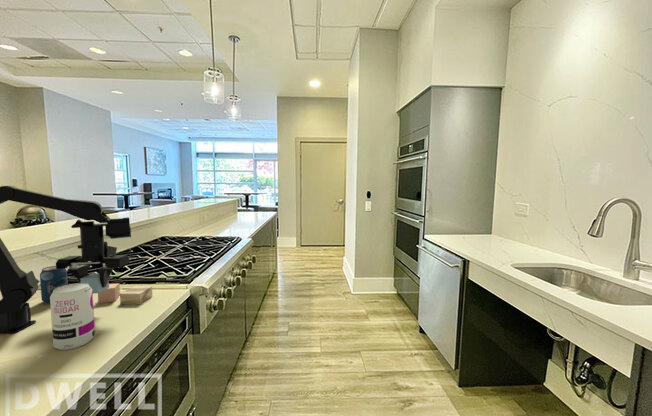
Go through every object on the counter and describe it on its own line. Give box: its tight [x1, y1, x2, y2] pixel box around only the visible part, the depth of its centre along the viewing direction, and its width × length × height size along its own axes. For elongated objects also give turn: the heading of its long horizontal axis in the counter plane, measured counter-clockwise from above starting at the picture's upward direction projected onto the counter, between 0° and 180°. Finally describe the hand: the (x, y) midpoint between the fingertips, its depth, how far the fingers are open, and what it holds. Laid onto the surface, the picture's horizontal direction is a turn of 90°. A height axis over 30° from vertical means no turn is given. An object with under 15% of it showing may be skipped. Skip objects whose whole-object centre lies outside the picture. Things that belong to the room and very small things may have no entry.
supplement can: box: [49, 282, 96, 351], centre depth 73 cm, size 8×8×15 cm
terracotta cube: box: [97, 283, 121, 304], centre depth 101 cm, size 5×5×5 cm
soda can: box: [39, 265, 69, 304], centre depth 99 cm, size 7×7×12 cm
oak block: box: [119, 285, 153, 305], centre depth 101 cm, size 7×7×4 cm
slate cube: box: [80, 272, 110, 295], centre depth 90 cm, size 5×5×5 cm
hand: (95, 287), depth 90 cm, fingers closed on slate cube, 5 cm apart
